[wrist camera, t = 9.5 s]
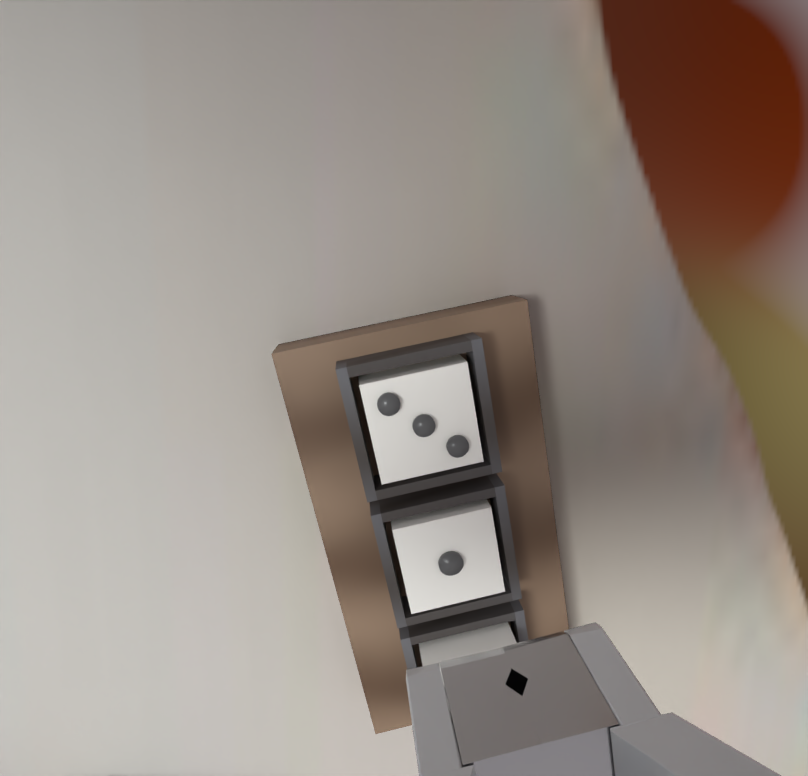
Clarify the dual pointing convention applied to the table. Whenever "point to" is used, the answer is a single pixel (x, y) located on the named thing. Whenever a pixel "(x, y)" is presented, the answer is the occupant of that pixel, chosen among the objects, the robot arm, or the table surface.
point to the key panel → (425, 485)
